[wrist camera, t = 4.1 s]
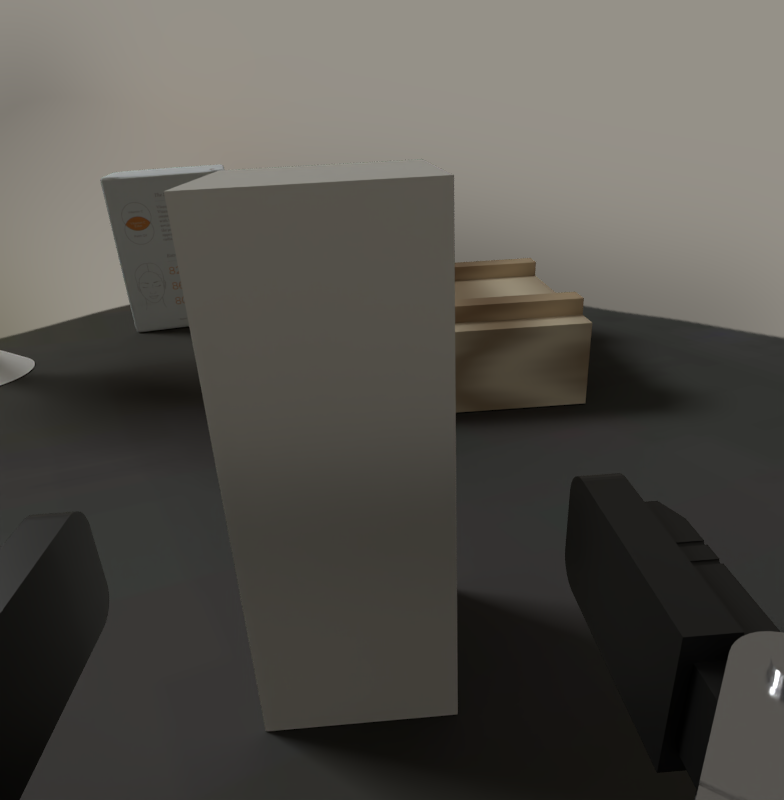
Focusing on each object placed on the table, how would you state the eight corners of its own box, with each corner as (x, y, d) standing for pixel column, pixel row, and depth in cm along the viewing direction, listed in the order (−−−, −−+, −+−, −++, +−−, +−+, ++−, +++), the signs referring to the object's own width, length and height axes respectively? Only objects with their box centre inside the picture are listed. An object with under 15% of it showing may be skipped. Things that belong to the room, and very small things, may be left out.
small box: (246, 301, 51) (226, 163, 46) (250, 320, 46) (227, 167, 41) (143, 313, 49) (111, 171, 45) (134, 334, 44) (98, 176, 40)
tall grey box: (265, 731, 15) (164, 190, 10) (284, 597, 19) (219, 170, 14) (466, 713, 15) (466, 173, 10) (440, 584, 19) (431, 158, 14)
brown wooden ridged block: (376, 418, 29) (370, 320, 27) (369, 338, 40) (364, 263, 38) (585, 403, 30) (593, 305, 28) (521, 327, 41) (524, 253, 39)
